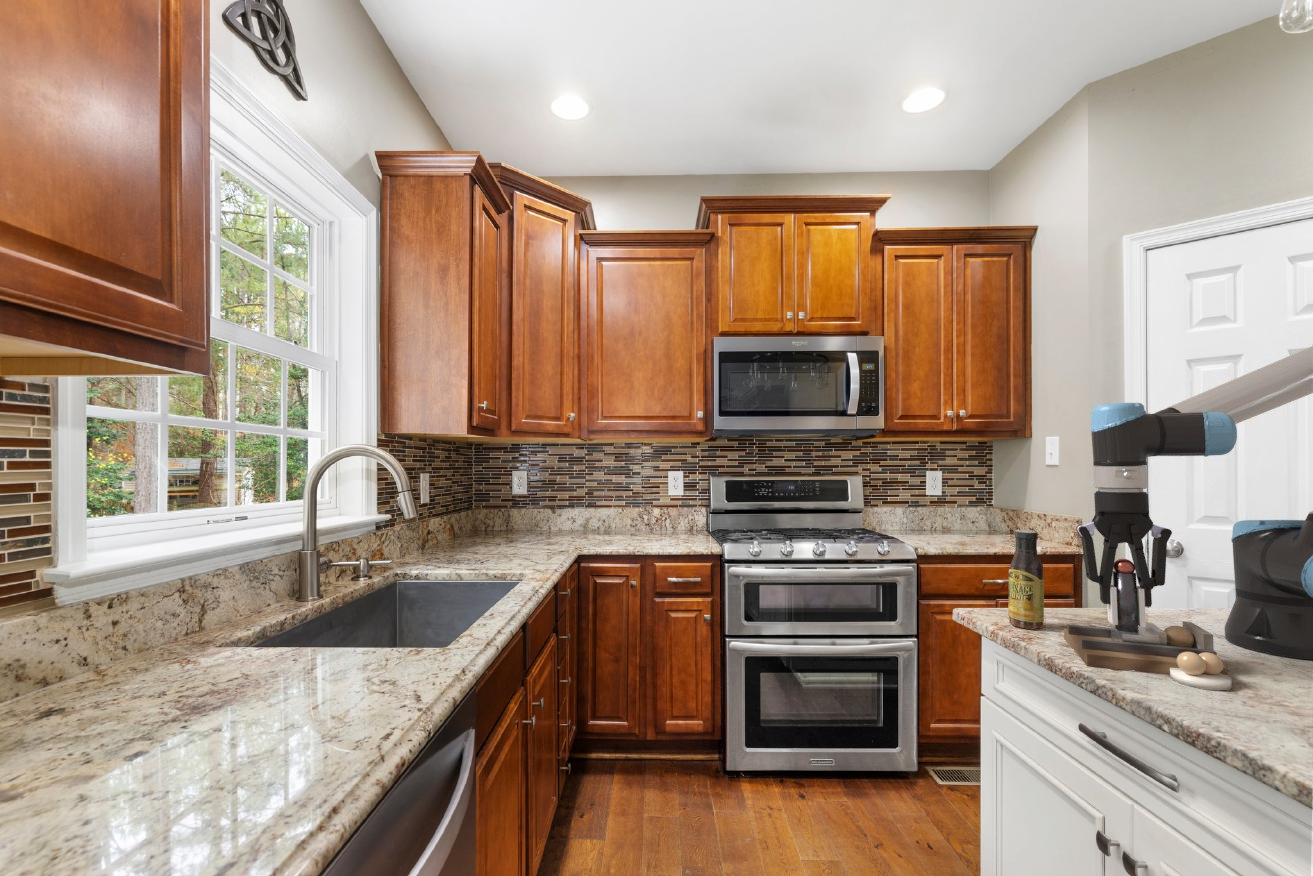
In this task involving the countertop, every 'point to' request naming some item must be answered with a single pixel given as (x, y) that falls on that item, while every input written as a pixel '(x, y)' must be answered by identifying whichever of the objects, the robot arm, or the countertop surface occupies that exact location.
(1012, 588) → the sauce bottle
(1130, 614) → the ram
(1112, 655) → the tray
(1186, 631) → the walnut
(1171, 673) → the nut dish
